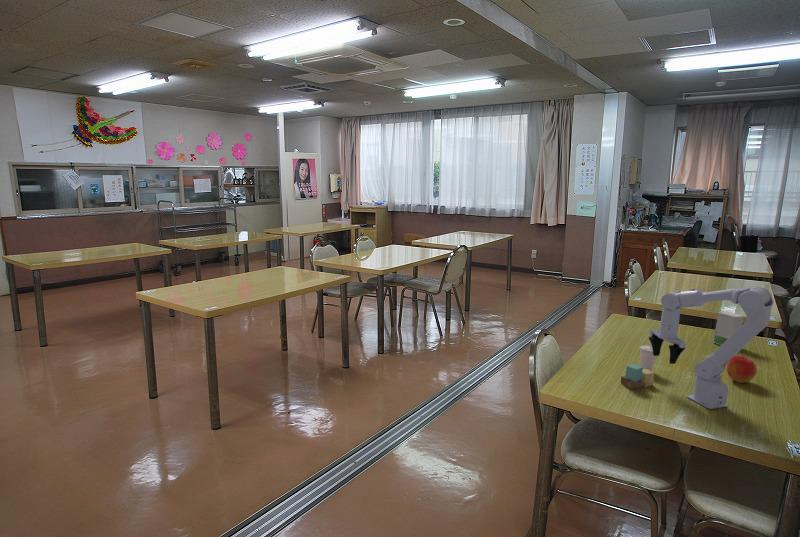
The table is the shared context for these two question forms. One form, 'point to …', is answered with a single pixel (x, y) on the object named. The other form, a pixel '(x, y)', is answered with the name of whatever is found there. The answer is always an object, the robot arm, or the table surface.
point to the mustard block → (647, 377)
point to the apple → (741, 369)
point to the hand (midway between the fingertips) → (664, 359)
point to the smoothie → (647, 357)
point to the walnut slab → (633, 383)
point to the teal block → (633, 372)
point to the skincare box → (726, 326)
